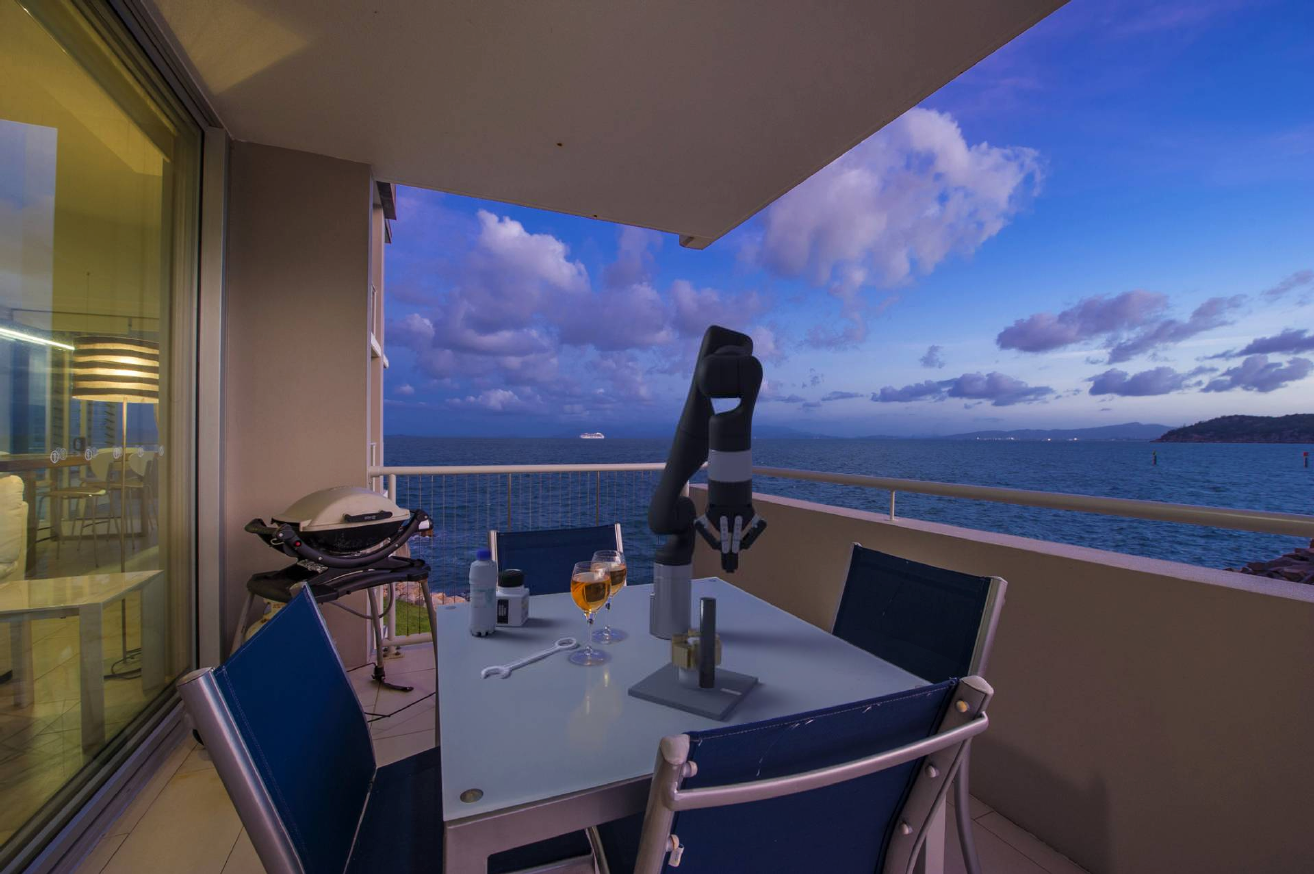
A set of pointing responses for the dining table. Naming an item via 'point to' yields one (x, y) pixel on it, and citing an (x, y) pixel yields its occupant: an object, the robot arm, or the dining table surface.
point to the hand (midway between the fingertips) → (729, 571)
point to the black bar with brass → (699, 646)
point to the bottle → (483, 594)
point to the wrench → (529, 658)
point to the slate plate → (694, 690)
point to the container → (511, 599)
